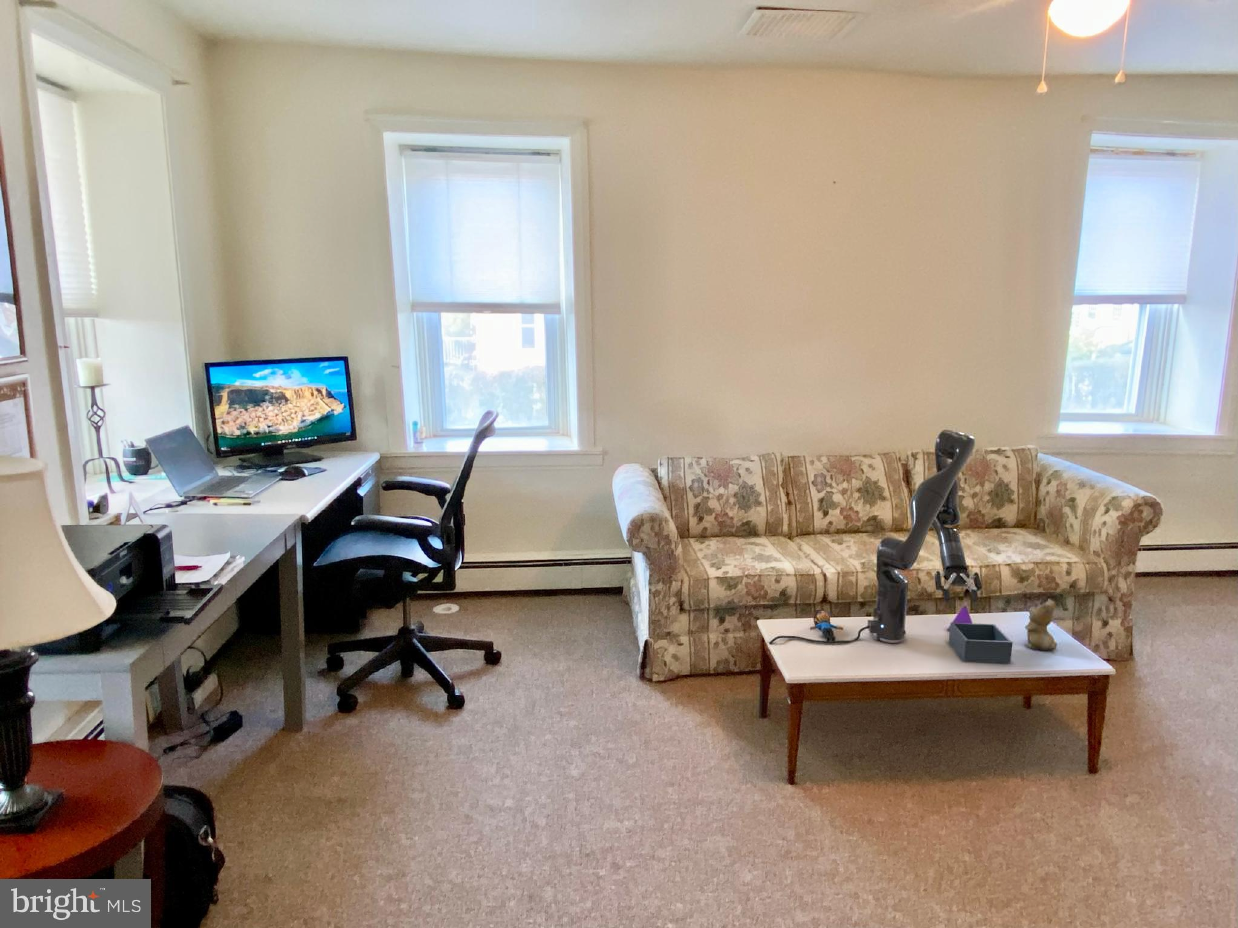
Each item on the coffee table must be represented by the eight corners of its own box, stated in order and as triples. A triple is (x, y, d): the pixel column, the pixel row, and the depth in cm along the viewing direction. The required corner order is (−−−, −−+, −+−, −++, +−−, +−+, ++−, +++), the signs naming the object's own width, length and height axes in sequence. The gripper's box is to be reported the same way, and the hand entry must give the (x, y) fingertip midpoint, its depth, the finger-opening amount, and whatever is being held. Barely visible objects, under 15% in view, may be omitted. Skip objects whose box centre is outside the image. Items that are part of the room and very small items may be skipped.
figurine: (1018, 637, 245) (1023, 593, 242) (1047, 640, 243) (1052, 596, 240) (1028, 650, 235) (1033, 605, 232) (1058, 653, 234) (1064, 607, 231)
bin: (963, 661, 228) (965, 640, 226) (948, 642, 241) (950, 622, 240) (1010, 663, 227) (1012, 642, 225) (992, 644, 240) (994, 624, 238)
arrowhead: (959, 646, 248) (939, 620, 252) (961, 645, 249) (941, 619, 253) (984, 632, 242) (963, 606, 245) (986, 631, 243) (965, 604, 247)
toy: (814, 633, 240) (804, 605, 253) (812, 648, 242) (802, 619, 256) (849, 633, 240) (836, 605, 253) (846, 648, 242) (834, 619, 256)
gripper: (934, 552, 255) (942, 596, 246) (978, 553, 254) (987, 598, 245) (928, 562, 262) (936, 605, 253) (970, 563, 260) (980, 607, 251)
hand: (961, 601), depth 249 cm, fingers open, 8 cm apart
